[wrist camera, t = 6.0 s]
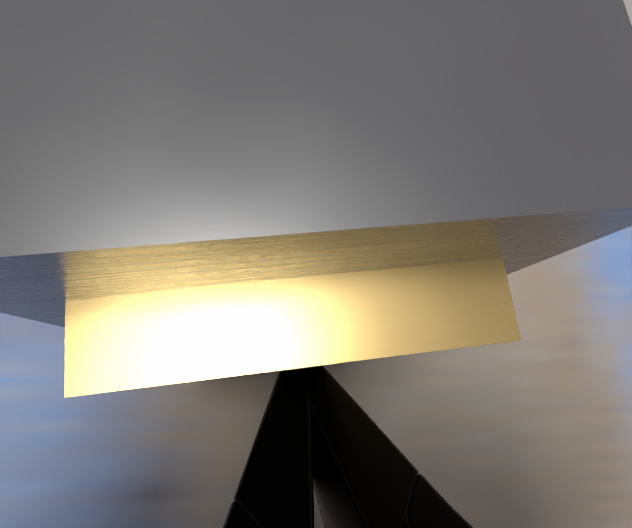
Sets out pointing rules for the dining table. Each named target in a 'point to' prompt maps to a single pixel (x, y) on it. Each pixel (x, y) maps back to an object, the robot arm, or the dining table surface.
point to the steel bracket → (302, 139)
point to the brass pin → (282, 324)
